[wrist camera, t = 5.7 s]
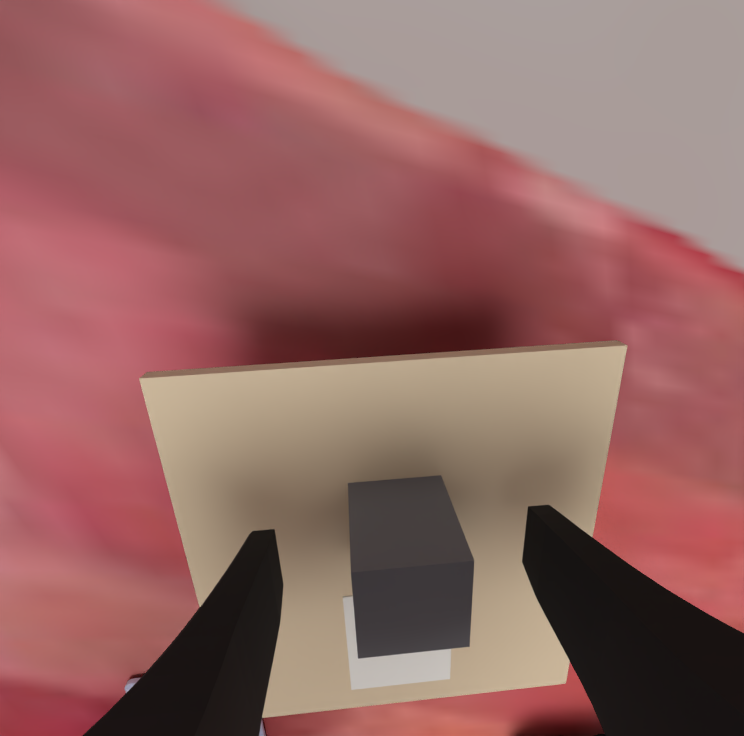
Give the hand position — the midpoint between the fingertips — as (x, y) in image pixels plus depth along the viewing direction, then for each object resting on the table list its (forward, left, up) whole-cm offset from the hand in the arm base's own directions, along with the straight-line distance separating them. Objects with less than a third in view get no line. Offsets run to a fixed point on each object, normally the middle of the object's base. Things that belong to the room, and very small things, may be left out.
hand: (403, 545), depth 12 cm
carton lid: (-3, 0, -2) cm, 4 cm away
